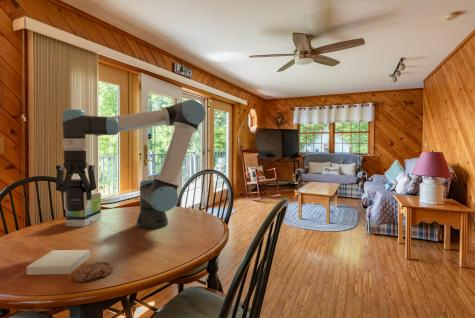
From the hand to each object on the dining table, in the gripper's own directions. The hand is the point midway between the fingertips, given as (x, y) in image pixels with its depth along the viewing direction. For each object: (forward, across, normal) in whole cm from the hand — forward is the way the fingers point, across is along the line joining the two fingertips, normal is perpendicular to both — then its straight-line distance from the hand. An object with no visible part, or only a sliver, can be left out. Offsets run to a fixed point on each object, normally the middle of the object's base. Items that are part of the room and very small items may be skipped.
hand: (77, 208), depth 106 cm
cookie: (+16, +17, -23) cm, 33 cm away
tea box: (+16, -14, +34) cm, 40 cm away
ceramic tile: (+15, +3, -16) cm, 23 cm away
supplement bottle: (+1, 0, 0) cm, 1 cm away
